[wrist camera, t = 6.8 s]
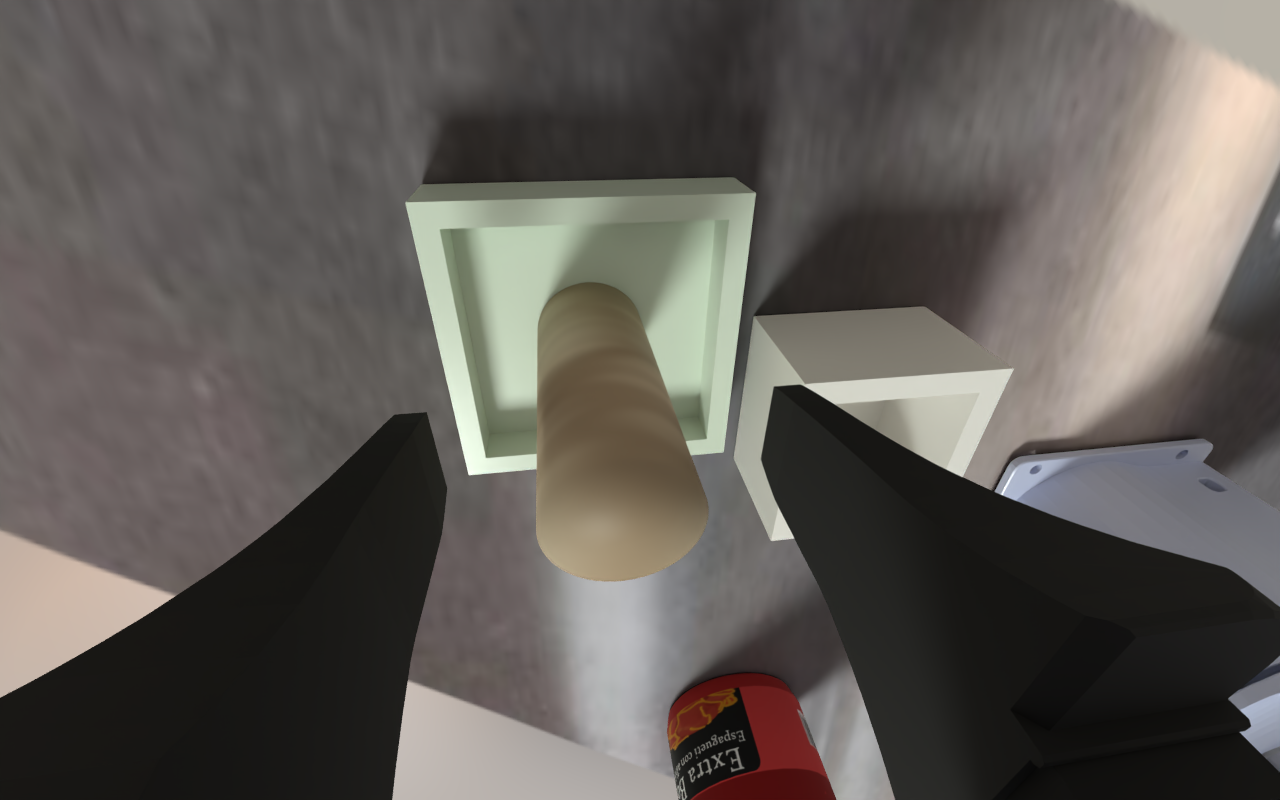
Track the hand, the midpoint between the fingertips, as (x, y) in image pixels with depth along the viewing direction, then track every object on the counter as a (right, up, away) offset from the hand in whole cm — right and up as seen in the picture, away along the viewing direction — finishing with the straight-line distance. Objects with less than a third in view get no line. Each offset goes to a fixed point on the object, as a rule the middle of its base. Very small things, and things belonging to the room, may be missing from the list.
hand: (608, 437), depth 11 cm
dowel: (-1, +3, +4) cm, 5 cm away
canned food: (+6, -17, +20) cm, 27 cm away
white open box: (+7, +1, +7) cm, 10 cm away
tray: (-1, +3, +5) cm, 6 cm away
